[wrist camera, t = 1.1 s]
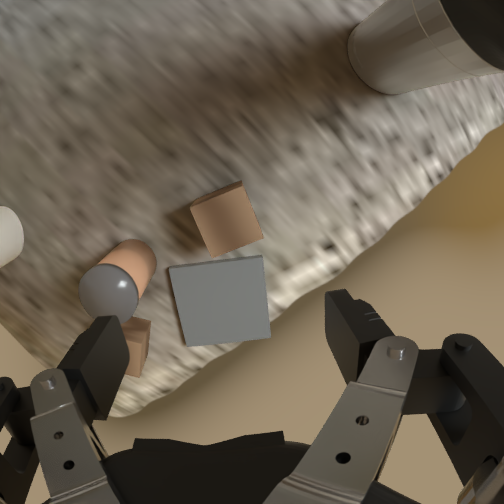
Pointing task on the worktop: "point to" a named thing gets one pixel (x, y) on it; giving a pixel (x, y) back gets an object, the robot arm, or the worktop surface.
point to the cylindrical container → (10, 236)
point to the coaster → (222, 300)
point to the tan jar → (118, 281)
